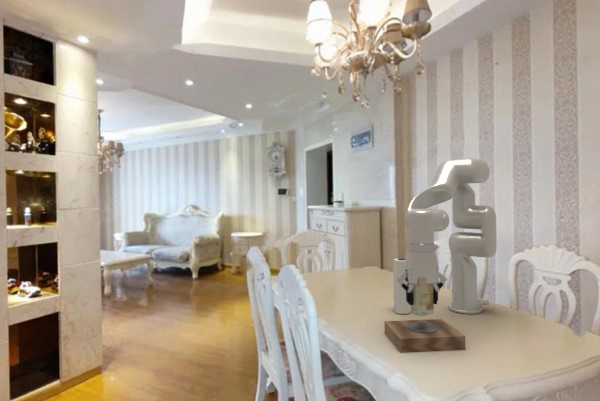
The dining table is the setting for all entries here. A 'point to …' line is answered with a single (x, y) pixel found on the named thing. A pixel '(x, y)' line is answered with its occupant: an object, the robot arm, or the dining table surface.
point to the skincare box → (423, 298)
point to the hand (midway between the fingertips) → (422, 303)
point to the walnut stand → (424, 335)
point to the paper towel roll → (400, 288)
